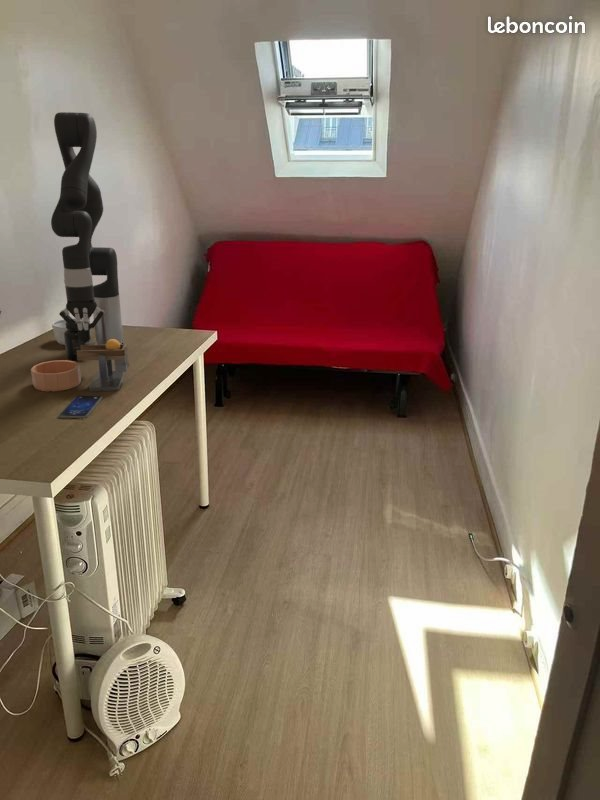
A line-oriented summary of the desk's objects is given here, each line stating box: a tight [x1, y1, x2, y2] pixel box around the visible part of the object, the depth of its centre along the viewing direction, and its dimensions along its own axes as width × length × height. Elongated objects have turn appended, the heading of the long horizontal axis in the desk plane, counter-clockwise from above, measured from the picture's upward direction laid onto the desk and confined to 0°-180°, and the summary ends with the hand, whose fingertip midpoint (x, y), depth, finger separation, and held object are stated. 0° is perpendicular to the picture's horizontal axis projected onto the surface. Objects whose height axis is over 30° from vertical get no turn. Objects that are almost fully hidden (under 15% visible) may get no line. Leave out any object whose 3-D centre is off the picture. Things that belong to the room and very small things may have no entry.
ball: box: [106, 339, 120, 350], centre depth 171 cm, size 4×4×4 cm
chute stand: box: [88, 355, 126, 392], centre depth 173 cm, size 14×8×10 cm, turn 9°
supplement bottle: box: [64, 321, 86, 361], centre depth 194 cm, size 7×7×12 cm
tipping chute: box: [76, 341, 130, 373], centre depth 176 cm, size 15×13×7 cm
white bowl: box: [51, 317, 92, 346], centre depth 213 cm, size 13×13×7 cm
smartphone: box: [58, 394, 103, 420], centre depth 157 cm, size 7×1×15 cm
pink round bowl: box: [30, 359, 82, 392], centre depth 172 cm, size 13×13×5 cm
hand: (85, 341), depth 178 cm, fingers closed
